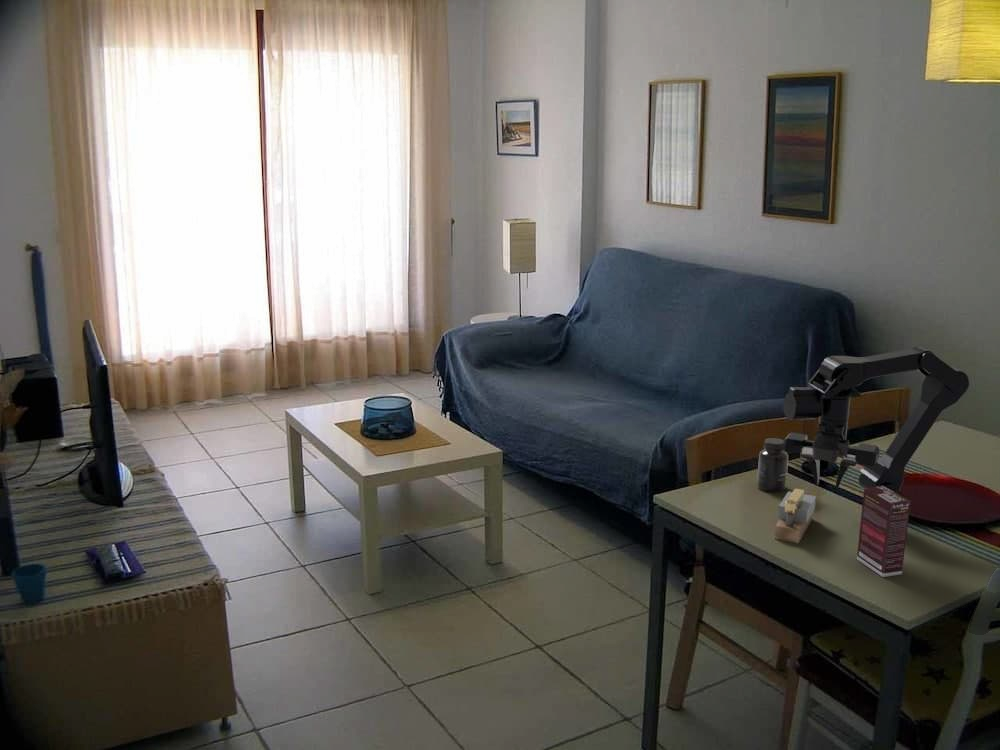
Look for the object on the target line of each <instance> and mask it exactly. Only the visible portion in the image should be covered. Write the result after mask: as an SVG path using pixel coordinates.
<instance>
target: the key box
mask: <svg viewBox="0 0 1000 750" xmlns="http://www.w3.org/2000/svg"><path fill="white" fill-rule="evenodd" d="M813 515H814V514H813V513H812V515H811V516H810V518H809V520H808V522H807V523H806V524H803V523H798V522H793V517H794V513H787V518H786V520H783V519H778V521H777V523H776V524H775V532H774V539H775V538H776V539H775V540H779V539H781V540H780V541H784V540H786V541H785V542H788V541H792V542H791V543H793V542H796V543H795V544H798V543H799V544H800V543H801V542H800V541H801V540H802V538H803V536H804V534H805V533H806V531H807V529H808V528H809V526H810V524H811V522H812V520H813Z"/></svg>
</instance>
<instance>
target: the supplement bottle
mask: <svg viewBox="0 0 1000 750" xmlns="http://www.w3.org/2000/svg"><path fill="white" fill-rule="evenodd" d="M784 440H785V439H784ZM784 440H783V439H782V438H775V437H771V438H770V437H769V438H765V440H764V444H763V448H764V449H762V450H760V452H759V455H758V466H757V478H756V486H757V488H758V489H760V490H761V491H764V492H766V493H781V492H783V491H785V490H786V485H787V479H788V478H787V477H788V468H789V467H788V465H789V454H788V452H785V451H783V443H784Z"/></svg>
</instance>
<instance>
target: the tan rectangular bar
mask: <svg viewBox="0 0 1000 750" xmlns="http://www.w3.org/2000/svg"><path fill="white" fill-rule="evenodd" d="M791 492H792V494H791V495H790V497H789V498H788V500H786V501H785V512H787V513H796V511H797V508H798V507H799V505H800V503H801V502H802V500H803V498H804V494H805V490H804V489H801V488H794V489H793V491H791Z"/></svg>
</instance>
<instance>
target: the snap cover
mask: <svg viewBox="0 0 1000 750" xmlns="http://www.w3.org/2000/svg"><path fill="white" fill-rule="evenodd" d="M792 492H793V491H787V493H786V494H785V496H784V497H783V499H782V500H781V502H780V503H779V505H778V512H777V519H778V520H780V519H783V520H786V518H787V512H785V501H786V500H788V498H789V497H790V495H791V494H792ZM816 497H817V496H816V495H809V494H805V493H804V498H803V500H802V502H801V503H800V505H799V507H798V508H797V511H796V513H794V517H793V522H798V523H803V524H806V523H807V522H808V520H809V518H810V516H811V515H812V513H813V512H814V511H815V508H816V500H817V499H816Z"/></svg>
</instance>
